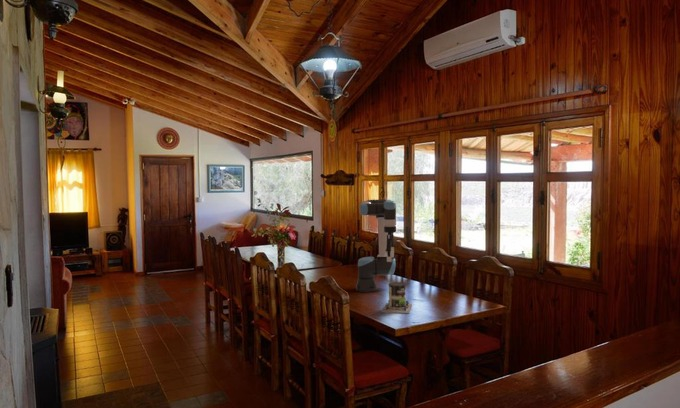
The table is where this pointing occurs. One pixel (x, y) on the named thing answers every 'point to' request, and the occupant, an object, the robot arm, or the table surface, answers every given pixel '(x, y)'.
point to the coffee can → (397, 295)
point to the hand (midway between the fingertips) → (390, 259)
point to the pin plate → (391, 310)
